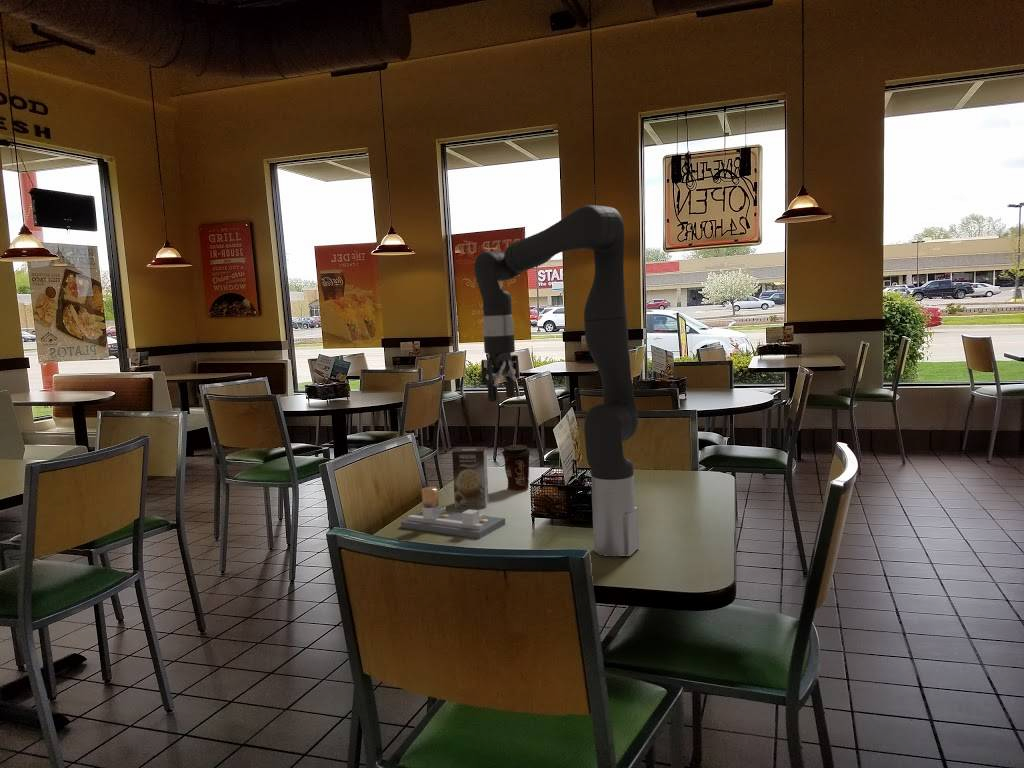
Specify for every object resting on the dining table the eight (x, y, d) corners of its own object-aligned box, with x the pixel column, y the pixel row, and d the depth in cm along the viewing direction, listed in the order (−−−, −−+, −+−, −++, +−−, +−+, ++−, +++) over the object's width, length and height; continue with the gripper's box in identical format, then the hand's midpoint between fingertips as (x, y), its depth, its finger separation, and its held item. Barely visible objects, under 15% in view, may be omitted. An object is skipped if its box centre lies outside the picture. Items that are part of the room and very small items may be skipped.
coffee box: (453, 508, 201) (450, 451, 199) (457, 502, 207) (454, 446, 205) (486, 507, 200) (483, 450, 198) (489, 501, 206) (486, 445, 205)
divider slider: (451, 513, 188) (449, 483, 187) (433, 521, 181) (431, 491, 180) (438, 511, 190) (436, 482, 189) (420, 520, 183) (418, 490, 182)
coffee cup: (499, 488, 220) (496, 446, 219) (523, 484, 224) (521, 442, 222) (511, 494, 212) (509, 451, 211) (536, 490, 216) (534, 447, 214)
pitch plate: (505, 524, 184) (504, 503, 184) (479, 538, 174) (478, 516, 173) (429, 514, 196) (427, 494, 196) (401, 527, 186) (399, 506, 185)
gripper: (496, 335, 170) (500, 403, 172) (526, 331, 183) (529, 395, 184) (470, 336, 174) (473, 402, 176) (500, 332, 186) (503, 395, 188)
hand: (502, 399), depth 180 cm, fingers open, 8 cm apart
